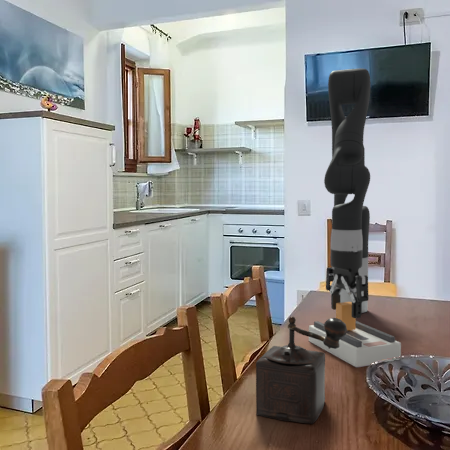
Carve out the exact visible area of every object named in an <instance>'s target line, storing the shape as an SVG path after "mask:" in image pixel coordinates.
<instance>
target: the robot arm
mask: <svg viewBox="0 0 450 450" xmlns="http://www.w3.org/2000/svg"><path fill="white" fill-rule="evenodd" d="M371 84H372V83H371V75H370V72H369V70H368V69H367V68H362V67H361V68H360V67H359V68H348V69H337V70H332V71H331V72H330V73H329V76H328V81H327V90H328V91H327V92H328V102H329V111H330V120H331V121H330V122H331V123H330V124H331V160H330V163H329V165H328V167H327V169H326V172H325V174H324V180H323V183H324V187H325V190H327V192H328V193H330V194H331V195H333V207H332V209H331V234H330V266H331V267H326V273H325V275H326V278H325V290H326V291H329V294H330V298H331V299H330V303H331V309H332V310H335V311H336V303H342V302H352V317H353V318H356V319H359V318H361V317H362V314H364V313H367V312H368V308H369V307H368V305H369V304H368V303H369V235H370V233H369V232H370V222H371V221H370V219H371V218H370V217H371V216H370V210H369V209H370V208H369V207H368V206H366V205H364V202H365V199H366V195H367V192H368V189H369V185H370V181H371V173H370V170H369V169H368V167H367V165H366V163H365V156H366V155H365V154H366V153H365V146H364V133H365V125H366V120H367V117H368V116H367V115H368V112H369V111H368V109H369V103H370V99H371V89H372V88H371ZM343 105H354V106H353V108H352V109H351V111H350V112H349V113H348V114H347V116H346V115H345V113H344V110H343V107H342V106H343ZM348 195H354V196H353V198H352V200H350V201H349V202H346V200H347V198H348Z"/></svg>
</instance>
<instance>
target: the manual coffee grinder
mask: <svg viewBox="0 0 450 450" xmlns="http://www.w3.org/2000/svg"><path fill="white" fill-rule="evenodd" d="M287 321H288V325H287V329H288V331H289V332H288V333H289V334H288V335H289V339H288V344H287V345H283V346H280V345H279V346H278V345H273V346H272V347H270V348H269V349H267V351H266V352H265V353H263V355H262V356H261V357H260V358H259V359H258V360H257V361H256V362H255V394H256V395H255V397H256V398H255V399H256V400H255V401H256V402H255V403H256V405H255V406H256V411H255V415H256V416H260V417H265V418H269V419H275V420H278V421H283V422H293V423H301V424H310V425H311V424H314V423H315V422H316V421H317V420H318V418H319V416H321V414H322V412H323V410H324V405H325V401H326V396H325V395H326V393H325V392H326V391H325V390H326V388H325V382H326V381H325V377H326V376H325V375H326V374H325V373H326V353H325V352H324V351H323V352H322V351H315V350H310V349H309V350H308V349H306V348H304V347H302V346H300V345H296V344H295V332H296V333H297V334H299V335H303V336H306V337H308V338H309V337H312V338H315V339H318V340H320V341H323V343H324V345H326V346H327V347H329V349H330V348H334V349H336V348H339V340H340V339H341V338H342V337H343V336H344V335H346V333H347V328H346V324H345V323H344V322H343V321H341V320H340V319H337V318H336V317H331V318H327V319H326V320H325V322H324V323H323V324H324V330H325V332H326V337H323V336H321V335H318V334H315V333H312V332H309V330H305V329H302V328H299V327H297V325H296V321H297V319H296V317H294V316H292V315H290V316H289V318H288V320H287Z"/></svg>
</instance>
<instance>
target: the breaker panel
mask: <svg viewBox="0 0 450 450" xmlns="http://www.w3.org/2000/svg"><path fill="white" fill-rule="evenodd" d="M308 331H309V332H312V333H315V334H318V335H321V336H323V337H326V332H325V331H323V330H321V329H318V328H316V327H314V324H311V325H308ZM346 334H347V335H349V336H351V337H353V338H355V339H357V340H360V341H362V347H358V348H357V347H355V346H353V345H351V344H349V343H347V342H345V341H343V340H341V339H340V340H339V348H336V349H334V348H330V349H329V347H327V346H326V345H324V343H323V341H320V340H318V339H315V338H312V337H308V342H310V343H312V344H313V345H315V346H317V347H318V348H321V349H322V350H323V351H326V352H328V353H329V354H332V355H333V356H334V357H337V358H338V359H340V360H342V361H344V362H346V363H347V364H350V365H351V366H353V367H355V368H361V367H366V366H371V365H370V364H371V363H373V362H375V361H378V360H382V359H387V358H392V357H399V356H401V357H402V342H400V341H399V340H398V341H397V340H396V339H395V342H391V343H390V342H388V341H386V340H383V339H381V338H379V337H376V336H374V335H372V334H369V333H367V332H365V331H362V330H360V329H358V328H355V330H348V331H347V333H346Z"/></svg>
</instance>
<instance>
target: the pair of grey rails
mask: <svg viewBox="0 0 450 450" xmlns="http://www.w3.org/2000/svg"><path fill="white" fill-rule="evenodd" d="M313 325H314V327H316V328H318V329H321V330H323V331H325V330H324V323H323V322H321V321H318V320H317V321H314V322H313ZM355 328H358V329H360V330H362V331H365V332H367V333H369V334H372V335H374V336H376V337H379V338H381V339H383V340H386V341H388V342H390V343H391V342H395V340H396V336H394V335H391V334H389V333H386V332H384V331H382V330H379V329H377V328H374V327H372V326H370V325H367V324H365V323H362V322H359V321H358V320H356V324H355ZM341 340H343V341H345V342H347V343H349V344H351V345H353V346H355V347H357V348H358V347H362V341H360V340H357V339H355V338H353V337H351V336H349V335H347V334H346V335H344V336H343V337H342V338H341Z"/></svg>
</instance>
